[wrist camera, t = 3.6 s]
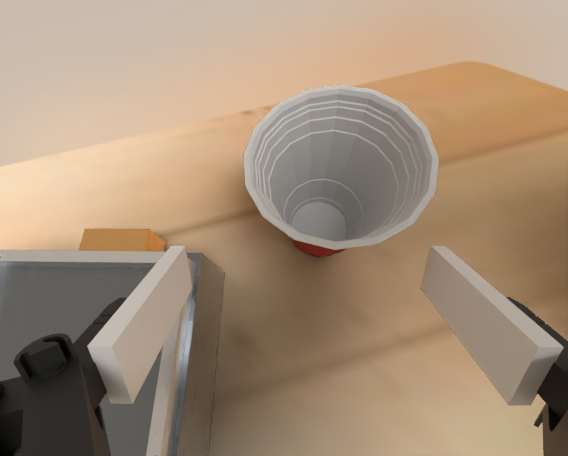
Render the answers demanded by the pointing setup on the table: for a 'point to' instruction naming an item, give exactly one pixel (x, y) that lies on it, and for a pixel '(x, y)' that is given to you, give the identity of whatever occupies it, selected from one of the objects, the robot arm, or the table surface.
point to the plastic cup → (340, 168)
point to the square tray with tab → (88, 306)
